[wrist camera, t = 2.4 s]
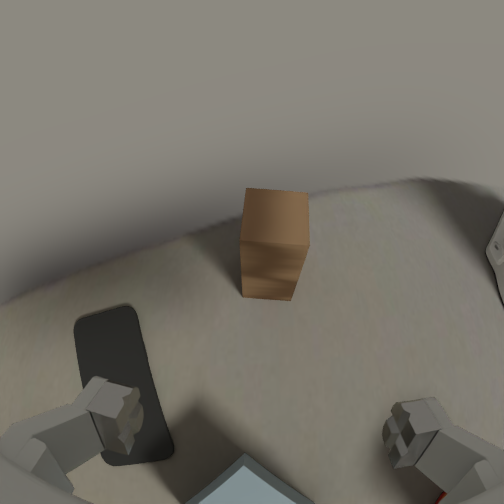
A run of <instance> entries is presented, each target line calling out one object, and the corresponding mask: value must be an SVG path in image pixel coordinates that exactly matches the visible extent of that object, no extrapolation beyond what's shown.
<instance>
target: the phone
mask: <svg viewBox="0 0 504 504" xmlns="http://www.w3.org/2000/svg"><path fill="white" fill-rule="evenodd" d="M74 338H75V345H76V352H77V359H78V364H79V370H80V376H81V381H82V386H83V389H84V388H85V386H86V385H87V384H88V383H89V381H90V380H91V379H92V378H93V377H95V376H98V377H102V378H105V379H108V380H113V381H116V382H120V383H124V384H127V385H131V386H135V387H137V388H139V392H140V398H139V400H138V401H139V403H140V404H141V405H142V406H143V414H144V418H143V423H142V426H141V429H140V431H139V432H137V433H136V434H134V435H133V436H134V440H135V442H134V444H133V446H132V449H131V451H130V453H129V455H125V454H121V453H118V452H114V451H111V450H108V449H104V451H102V452H100V453H101V456H102V458H103V459H104V461H105V462H106V463H107V464H109V465H112V466H122V465H131V464H139V463H146V462H152V461H158V460H163V459H167V458H169V457H170V456H171V455H172V454H173V452H174V445H173V442H172V439H171V436H170V433H169V430H168V427H167V424H166V421H165V418H164V415H163V412H162V409H161V406H160V402H159V399H158V396H157V392H156V389H155V385H154V382H153V378H152V374H151V371H150V367H149V363H148V357H147V353H146V349H145V345H144V341H143V338H142V334H141V329H140V325H139V320H138V316H137V313H136V311H135V310H134V309H133V308H131V307H129V306H123V307H119V308H116V309H112V310H109V311H105V312H102V313H99V314H95V315H92V316H88V317H85V318H82V319H80V320H78V321H77V322H76V324H75V326H74Z"/></svg>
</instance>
